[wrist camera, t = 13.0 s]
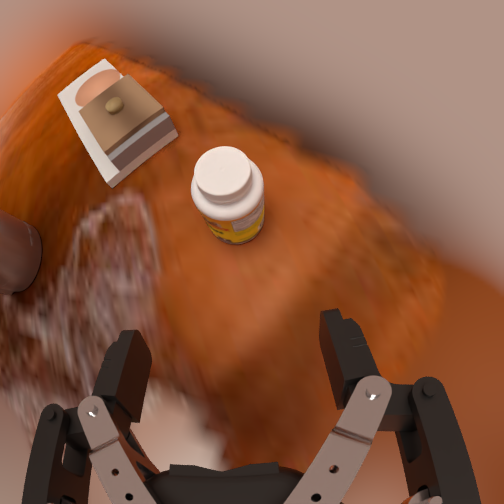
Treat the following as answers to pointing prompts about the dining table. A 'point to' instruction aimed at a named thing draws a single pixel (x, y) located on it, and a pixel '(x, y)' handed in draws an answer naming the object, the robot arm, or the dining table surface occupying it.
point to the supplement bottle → (229, 194)
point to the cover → (119, 113)
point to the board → (131, 149)
